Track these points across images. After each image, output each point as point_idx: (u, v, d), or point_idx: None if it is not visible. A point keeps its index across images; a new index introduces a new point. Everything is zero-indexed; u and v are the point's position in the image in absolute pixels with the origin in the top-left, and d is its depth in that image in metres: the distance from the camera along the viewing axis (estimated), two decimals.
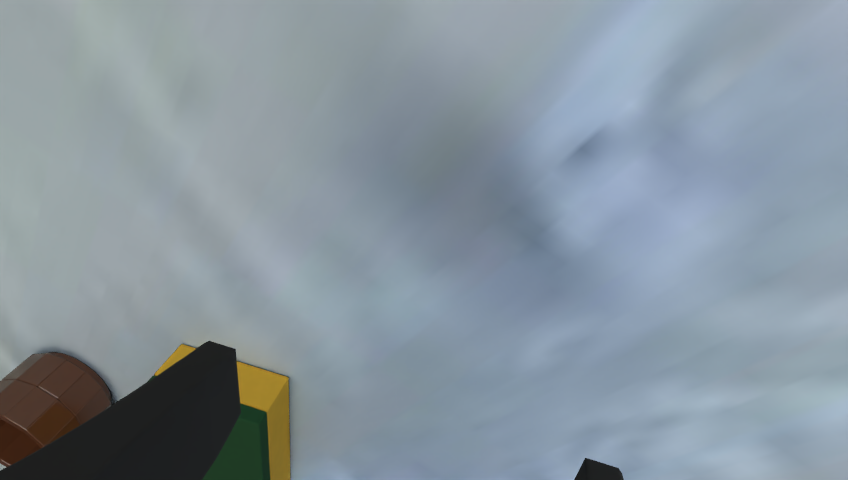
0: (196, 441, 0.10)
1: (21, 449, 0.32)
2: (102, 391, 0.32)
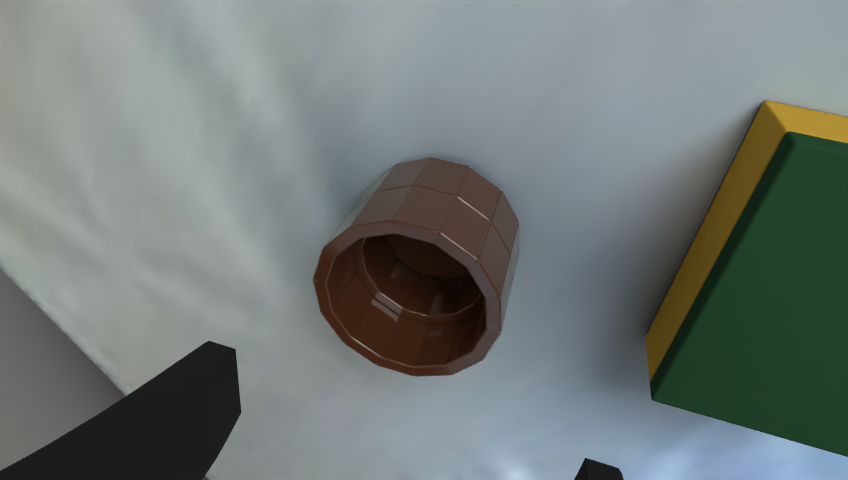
0: (196, 441, 0.10)
1: (378, 329, 0.18)
2: (518, 228, 0.18)
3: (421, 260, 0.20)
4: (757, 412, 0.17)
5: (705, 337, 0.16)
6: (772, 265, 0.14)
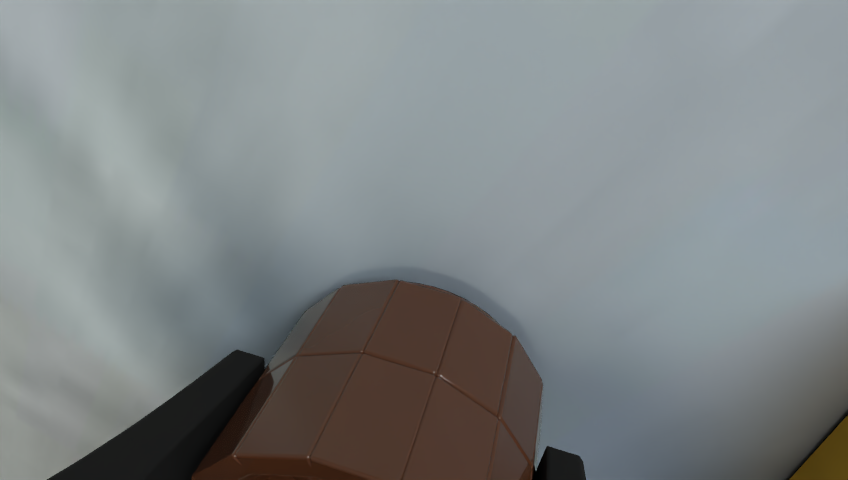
0: None
1: None
2: (542, 392, 0.11)
3: None
4: None
5: None
6: None
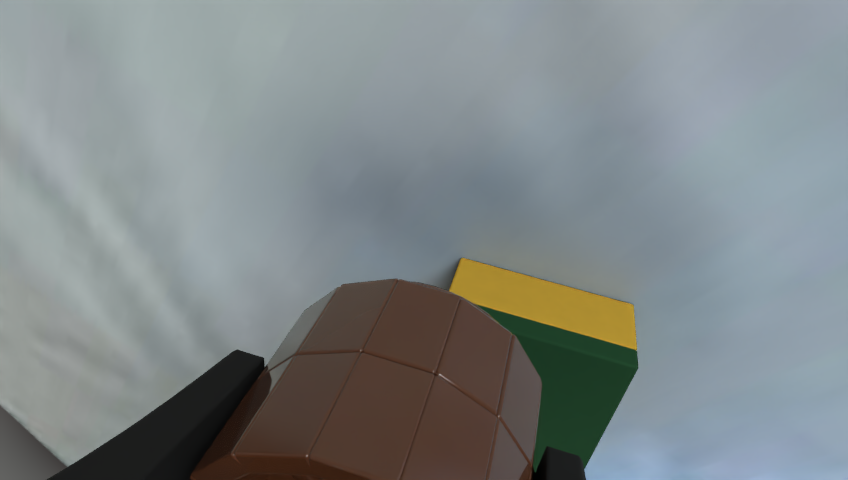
0: None
1: None
2: (541, 391, 0.11)
3: None
4: None
5: None
6: None
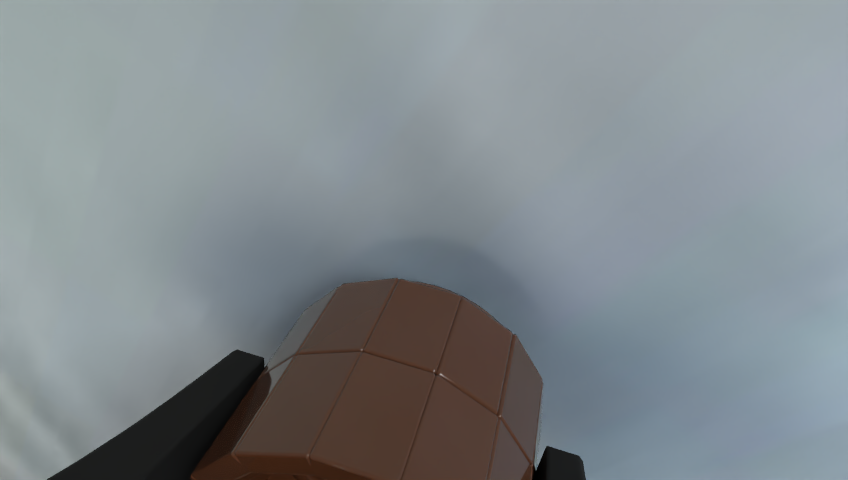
0: None
1: None
2: (542, 391, 0.11)
3: None
4: None
5: None
6: None
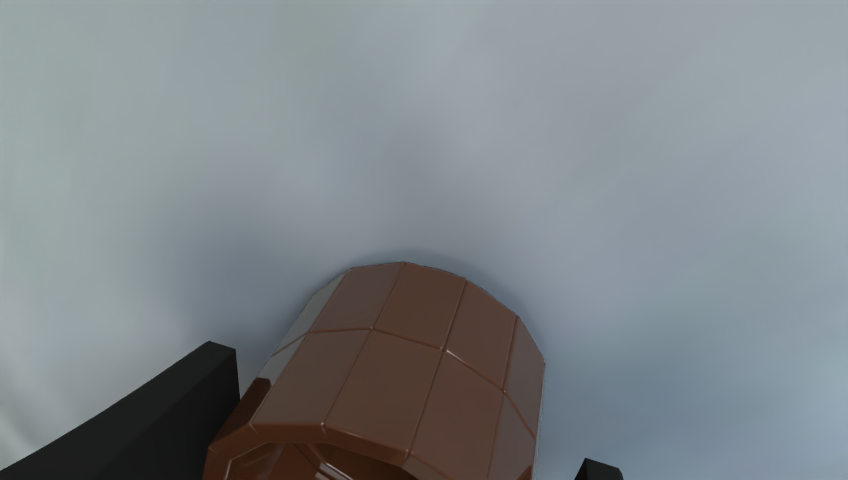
0: (196, 441, 0.10)
1: None
2: (544, 371, 0.11)
3: None
4: None
5: None
6: None
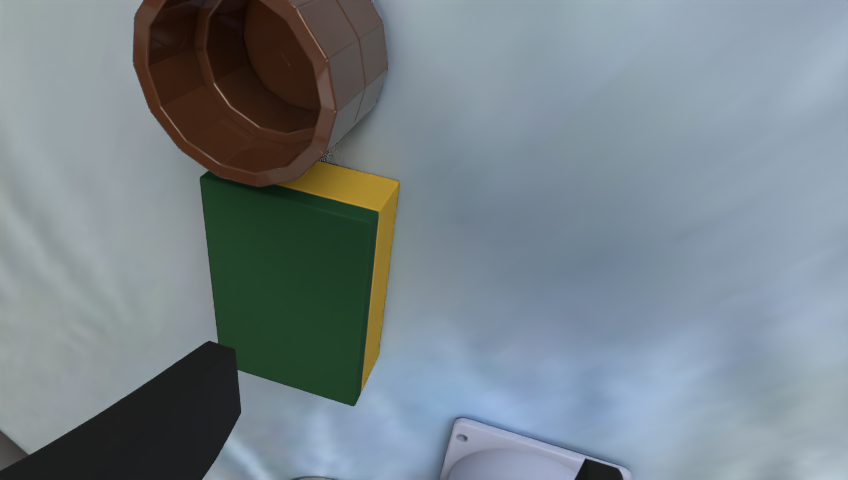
0: (196, 441, 0.10)
1: (225, 141, 0.16)
2: (383, 30, 0.16)
3: (289, 86, 0.18)
4: (283, 372, 0.22)
5: (224, 315, 0.21)
6: (232, 262, 0.20)
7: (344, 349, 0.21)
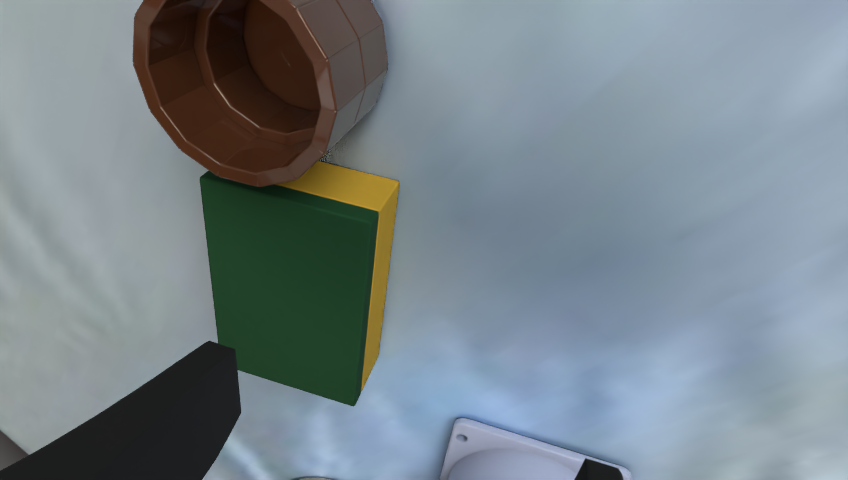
0: (196, 441, 0.10)
1: (225, 141, 0.16)
2: (383, 30, 0.16)
3: (289, 86, 0.18)
4: (283, 372, 0.22)
5: (224, 315, 0.21)
6: (232, 262, 0.20)
7: (344, 349, 0.21)
